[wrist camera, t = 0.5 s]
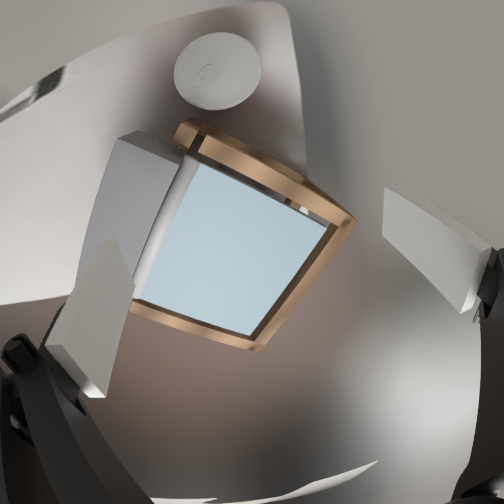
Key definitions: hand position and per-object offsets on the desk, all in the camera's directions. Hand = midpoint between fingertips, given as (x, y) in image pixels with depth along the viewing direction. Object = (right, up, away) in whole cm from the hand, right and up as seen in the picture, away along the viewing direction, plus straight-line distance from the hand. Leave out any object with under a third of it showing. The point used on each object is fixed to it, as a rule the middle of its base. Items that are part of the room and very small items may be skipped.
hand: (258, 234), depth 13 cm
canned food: (-5, +20, +17) cm, 27 cm away
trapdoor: (-6, +1, +15) cm, 16 cm away
